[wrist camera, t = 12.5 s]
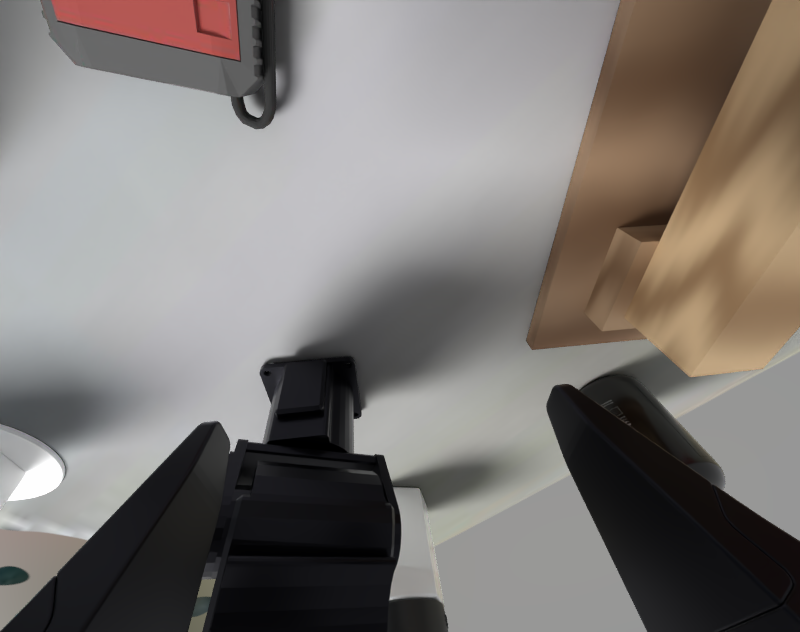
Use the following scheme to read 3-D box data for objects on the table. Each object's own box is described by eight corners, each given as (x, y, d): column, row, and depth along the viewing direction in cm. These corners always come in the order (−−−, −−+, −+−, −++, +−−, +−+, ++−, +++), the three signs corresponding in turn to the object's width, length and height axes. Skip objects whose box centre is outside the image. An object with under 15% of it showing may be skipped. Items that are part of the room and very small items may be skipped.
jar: (386, 527, 41) (397, 665, 32) (335, 511, 37) (330, 664, 28) (442, 497, 38) (473, 640, 29) (393, 475, 34) (410, 633, 25)
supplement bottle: (569, 429, 33) (658, 577, 24) (559, 390, 29) (662, 548, 20) (640, 405, 32) (764, 549, 22) (640, 360, 28) (790, 512, 18)
